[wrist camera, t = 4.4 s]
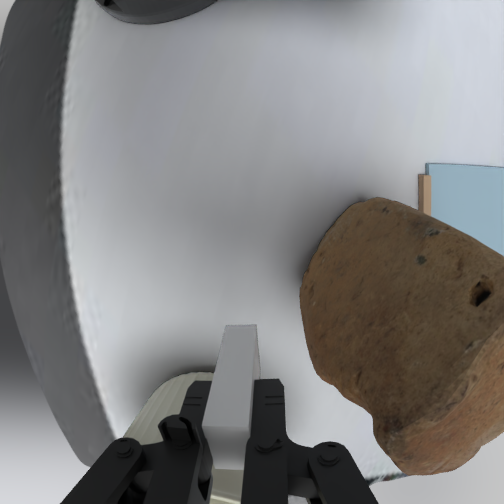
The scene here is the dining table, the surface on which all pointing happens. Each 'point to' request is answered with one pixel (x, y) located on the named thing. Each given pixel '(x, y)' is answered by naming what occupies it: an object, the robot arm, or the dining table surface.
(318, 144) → the dining table surface
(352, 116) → the dining table surface
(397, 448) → the pitted brown rock
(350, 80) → the dining table surface
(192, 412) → the robot arm
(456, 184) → the book
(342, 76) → the dining table surface
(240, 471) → the canister
